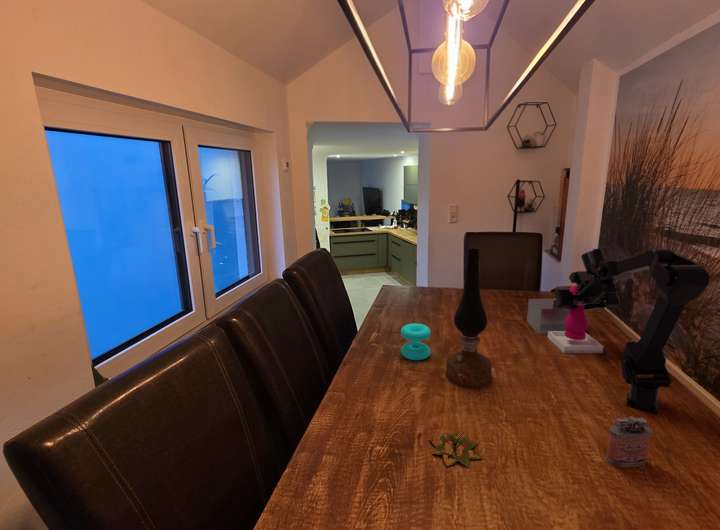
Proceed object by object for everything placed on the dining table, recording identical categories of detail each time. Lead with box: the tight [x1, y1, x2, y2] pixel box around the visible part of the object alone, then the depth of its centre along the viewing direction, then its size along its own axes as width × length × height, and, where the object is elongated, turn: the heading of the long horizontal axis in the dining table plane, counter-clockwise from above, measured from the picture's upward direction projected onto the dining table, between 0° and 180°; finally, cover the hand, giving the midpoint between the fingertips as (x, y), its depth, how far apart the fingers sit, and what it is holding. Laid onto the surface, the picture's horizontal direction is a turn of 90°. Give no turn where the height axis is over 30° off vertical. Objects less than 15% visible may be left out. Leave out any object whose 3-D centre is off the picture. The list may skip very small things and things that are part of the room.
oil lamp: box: [444, 248, 493, 389], centre depth 112 cm, size 14×15×40 cm
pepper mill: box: [564, 284, 589, 340], centre depth 127 cm, size 7×7×20 cm
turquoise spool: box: [400, 323, 432, 361], centre depth 126 cm, size 10×10×10 cm
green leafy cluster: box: [433, 428, 484, 468], centre depth 82 cm, size 12×12×5 cm
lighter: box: [605, 415, 653, 468], centre depth 76 cm, size 8×3×10 cm, turn 92°
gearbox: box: [526, 298, 586, 335], centre depth 144 cm, size 12×16×13 cm
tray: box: [547, 331, 604, 354], centre depth 130 cm, size 13×13×2 cm
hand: (575, 308), depth 129 cm, fingers closed on pepper mill, 5 cm apart
